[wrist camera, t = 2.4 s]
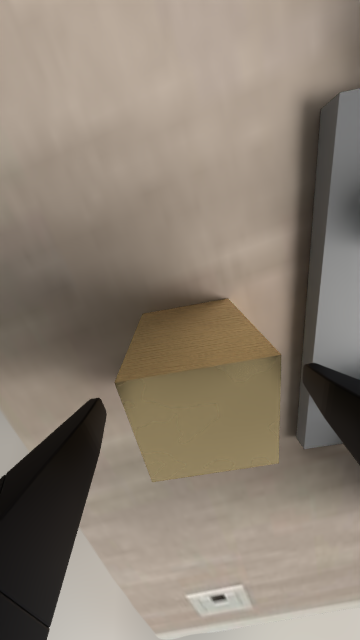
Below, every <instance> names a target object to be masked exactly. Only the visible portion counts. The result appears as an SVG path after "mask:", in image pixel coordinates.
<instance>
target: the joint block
mask: <svg viewBox="0 0 360 640" xmlns="http://www.w3.org/2000/svg"><path fill="white" fill-rule="evenodd" d="M115 385H116V388H117V390H118V393H119V396H120V398H121V401H122V404H123V406H124V409H125V412H126V414H127V417H128V419H129V422H130V425H131V427H132V430H133V433H134V435H135V438H136V440H137V443H138V446H139V448H140V451H141V454H142V456H143V459H144V462H145V464H146V467H147V469H148V472H149V475H150V477H151V480H152V482H157V481H164V480H170V479H177V478H184V477H191V476H197V475H204V474H211V473H217V472H224V471H231V470H238V469H244V468H251V467H258V466H265V465H271V464H278V463H279V426H280V387H281V354H280V353H279V352H278V351H277V350H276V349H275V348H274V347H273V346H272V344H271V343H270V342H269V341H268V340H267V339H266V338H265V337H264V336H263V335H262V334H261V333H260V332H259V331H258V330H257V329H256V328H255V326H254V325H253V324H252V323H251V322H250V321H249V320H248V319H247V318H246V317H245V316H244V315H243V314H242V313H241V312H240V311H239V310H238V309H237V307H236V306H235V305H234V304H233V303H232V302H231V301H230V300H229V299H223V300H217V301H211V302H206V303H200V304H195V305H189V306H183V307H178V308H172V309H167V310H161V311H155V312H150V313H144V314H142V317H141V319H140V322H139V324H138V326H137V329H136V331H135V334H134V336H133V339H132V341H131V344H130V346H129V349H128V351H127V353H126V356H125V358H124V361H123V363H122V366H121V368H120V371H119V373H118V375H117V378H116V380H115Z"/></svg>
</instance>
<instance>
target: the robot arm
mask: <svg viewBox="0 0 360 640" xmlns="http://www.w3.org/2000/svg"><path fill="white" fill-rule="evenodd" d="M302 381H303V384H304V386H305V388H306V389H307V391H308V393H309V394H310V396H311V397H312V399H313V401H314V402H315V404H316V406H317V407H318V409H319V411H320V412H321V414H322V415H323V417H324V418H325V420H326V421H327V422H328V424H329V425H330V427H331V428H332V429H333V430H334V432H335V433H336V434H337V436H338V437H339V438H340V440H341V441H342V442H343V444H344V445H345V446H346V448H347V449H348V450H349V452H350V453H351V454H352V456H353V457H354V458H355V460H356V461H357V462H358V464H359V465H360V380H359V379H356V378H354V377H351V376H349V375H346V374H343V373H341V372H338V371H335V370H333V369H330V368H328V367H325V366H322V365H320V364H317V363H308V364H304V366H303V375H302ZM105 422H106V410H105V407H104V405H103V403H102V400H101V399H100V398H94V399H90V400H89V401H88V402H86V403H85V404H84V405H83V406H82V407H81V408H80V409H79V410H77V411H76V412H75V413H74V414H73V415H72V416H71V417H69V418H68V419H67V420H66V421H65V422H64V423H63V424H62V425H60V426H59V427H58V428H57V429H56V430H55V431H54V432H53V433H51V434H50V435H49V436H48V437H47V438H46V439H45V440H44V441H42V442H41V443H40V444H39V445H38V446H37V447H36V448H34V449H33V450H32V451H31V452H30V453H29V454H28V455H27V456H25V457H24V458H23V459H22V460H21V461H20V462H19V463H18V464H16V465H15V466H14V467H13V468H12V469H11V470H10V471H9V472H7V474H6V475H4V476H3V477H2V478H1V479H0V640H47V637H48V633H49V627H50V625H51V622H52V618H53V615H54V611H55V608H56V604H57V601H58V597H59V594H60V590H61V587H62V583H63V580H64V576H65V573H66V569H67V566H68V562H69V559H70V555H71V552H72V548H73V545H74V541H75V537H76V534H77V531H78V527H79V524H80V520H81V517H82V513H83V510H84V506H85V503H86V499H87V496H88V492H89V489H90V485H91V482H92V478H93V475H94V471H95V468H96V464H97V461H98V457H99V453H100V449H101V443H102V438H103V433H104V427H105Z"/></svg>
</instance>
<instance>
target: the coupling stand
mask: <svg viewBox="0 0 360 640" xmlns="http://www.w3.org/2000/svg"><path fill="white" fill-rule="evenodd" d="M308 363H317V364H320V365H322V366H325V367H328V368H330V369H333V370H335V371H338V372H341V373H343V374H346V375H349V376H351V377H354V378H356V379H359V380H360V88H359V89H354V90H349V91H345V92H340V93H339V94H338V95H336V96H335V97H334V98H333V99H332V100H331V101H330V102H329V103H327V104H326V105H325V106H324V107H323V108H322V109H321V115H320V129H319V142H318V155H317V169H316V182H315V195H314V208H313V222H312V235H311V248H310V262H309V275H308V288H307V302H306V315H305V328H304V341H303V355H302V368H301V381H300V395H299V408H298V421H297V434H296V437H297V439H298V440H299V442H300V444H301V445H302V447H303V448H304V449H308V448H315V447H322V446H329V445H335V444H342V443H343V442H342V441H341V440H340V438H339V437H338V436H337V434H336V433H335V432H334V430H333V429H332V428H331V427H330V425H329V424H328V422H327V421H326V420H325V418H324V417H323V415H322V414H321V412H320V411H319V409H318V407H317V406H316V404H315V402H314V401H313V399H312V397H311V396H310V394H309V393H308V391H307V389H306V388H305V386H304V384H303V381H302V375H303V366H304V364H308Z"/></svg>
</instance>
